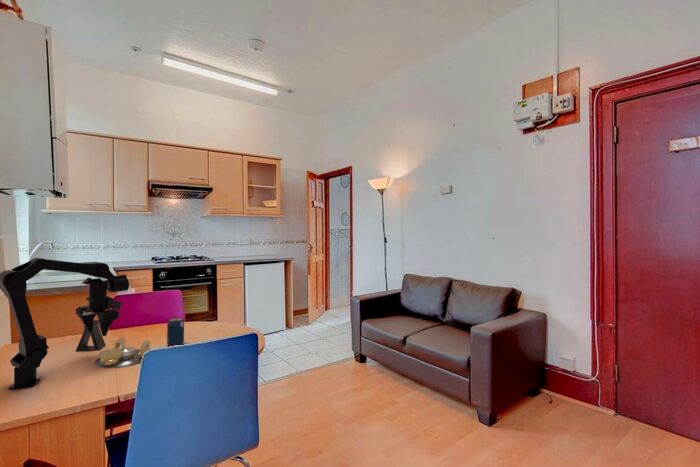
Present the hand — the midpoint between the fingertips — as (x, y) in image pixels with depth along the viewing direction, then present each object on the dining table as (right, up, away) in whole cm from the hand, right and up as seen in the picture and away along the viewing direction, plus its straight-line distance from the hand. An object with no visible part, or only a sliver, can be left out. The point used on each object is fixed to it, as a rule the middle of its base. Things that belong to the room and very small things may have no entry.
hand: (97, 334), depth 137 cm
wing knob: (+7, -11, -3) cm, 13 cm away
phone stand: (-15, -11, +17) cm, 25 cm away
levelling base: (+9, -12, +4) cm, 15 cm away
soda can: (+19, -12, +24) cm, 33 cm away
